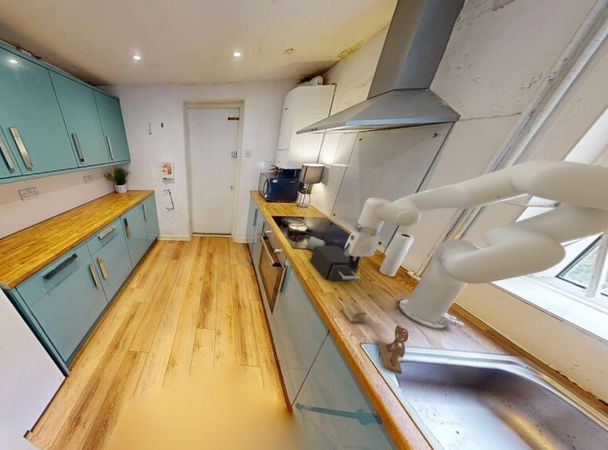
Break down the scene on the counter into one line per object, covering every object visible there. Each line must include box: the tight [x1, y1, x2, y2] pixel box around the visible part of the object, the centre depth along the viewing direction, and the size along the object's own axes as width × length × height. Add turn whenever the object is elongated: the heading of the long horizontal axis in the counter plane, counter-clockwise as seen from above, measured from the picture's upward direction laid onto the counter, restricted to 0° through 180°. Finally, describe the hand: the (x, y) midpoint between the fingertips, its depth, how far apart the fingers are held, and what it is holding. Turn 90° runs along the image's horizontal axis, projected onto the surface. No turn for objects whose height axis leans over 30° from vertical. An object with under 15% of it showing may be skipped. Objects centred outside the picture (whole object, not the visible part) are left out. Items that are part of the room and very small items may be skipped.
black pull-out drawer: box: [327, 264, 361, 281], centre depth 93 cm, size 18×11×8 cm, turn 2°
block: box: [342, 302, 367, 323], centre depth 73 cm, size 4×4×4 cm
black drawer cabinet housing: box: [309, 245, 350, 280], centre depth 98 cm, size 15×13×10 cm
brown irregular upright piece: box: [377, 324, 409, 375], centre depth 58 cm, size 9×4×12 cm, turn 151°
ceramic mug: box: [306, 236, 326, 251], centre depth 116 cm, size 11×8×8 cm
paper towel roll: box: [379, 232, 415, 278], centre depth 94 cm, size 7×6×21 cm
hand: (351, 267), depth 85 cm, fingers closed
